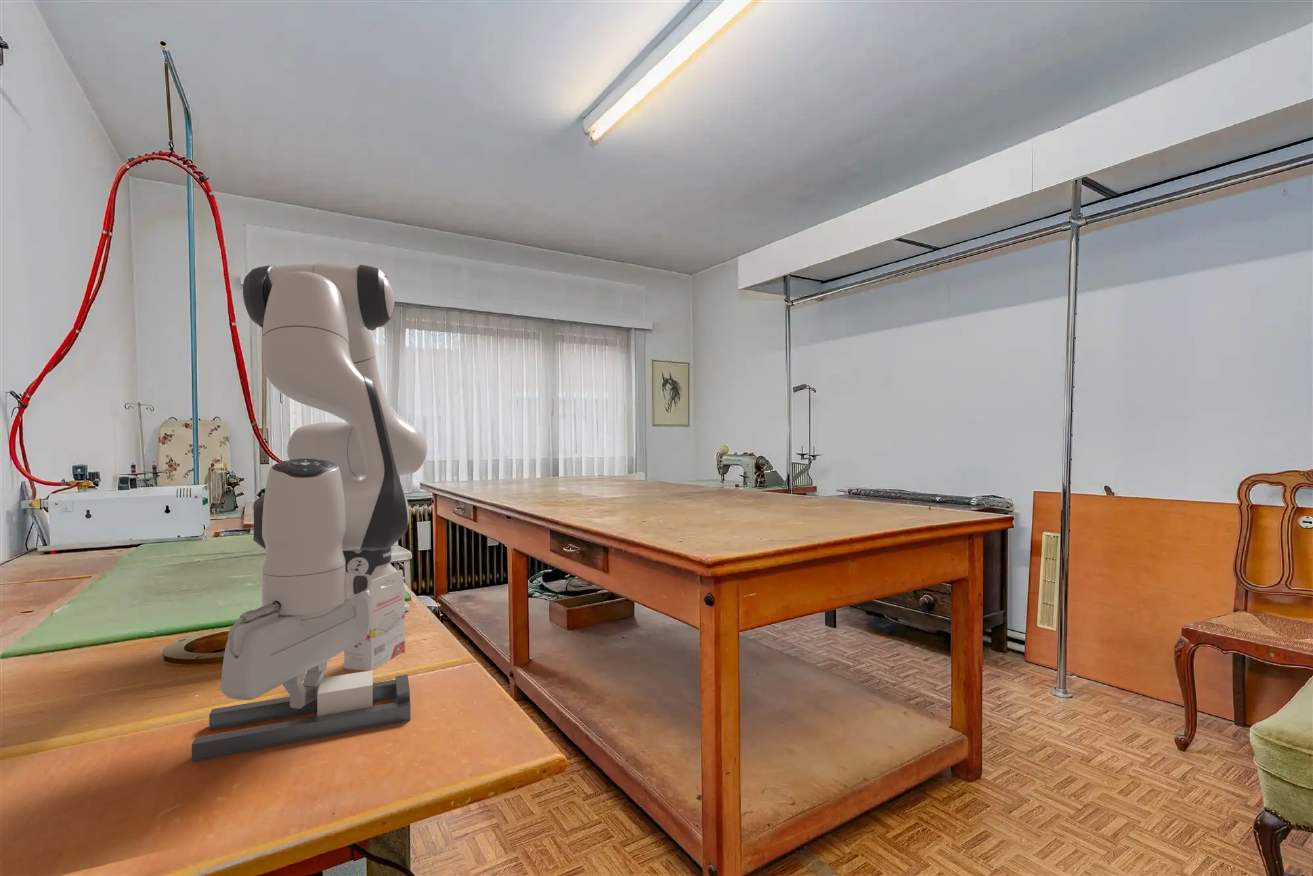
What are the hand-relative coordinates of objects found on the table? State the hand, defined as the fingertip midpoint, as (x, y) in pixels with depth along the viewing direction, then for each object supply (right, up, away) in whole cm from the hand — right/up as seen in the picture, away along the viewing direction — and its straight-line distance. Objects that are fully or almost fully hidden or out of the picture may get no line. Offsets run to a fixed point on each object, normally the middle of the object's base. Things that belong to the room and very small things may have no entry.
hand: (304, 703), depth 72 cm
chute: (+1, -4, 0) cm, 4 cm away
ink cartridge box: (-1, -4, +21) cm, 21 cm away
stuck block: (+4, -3, +2) cm, 5 cm away
